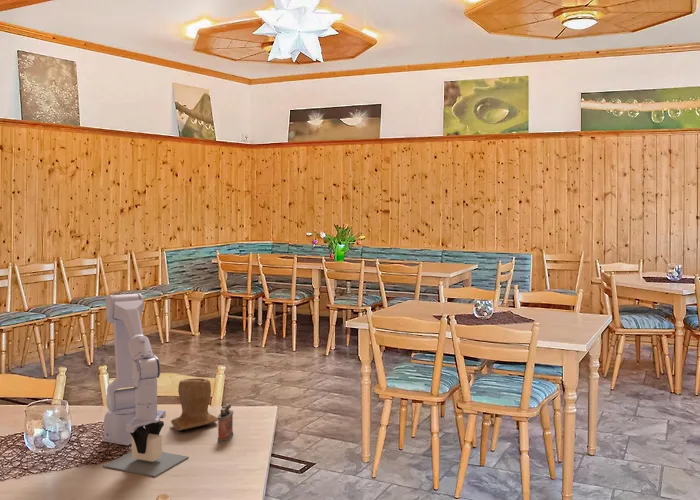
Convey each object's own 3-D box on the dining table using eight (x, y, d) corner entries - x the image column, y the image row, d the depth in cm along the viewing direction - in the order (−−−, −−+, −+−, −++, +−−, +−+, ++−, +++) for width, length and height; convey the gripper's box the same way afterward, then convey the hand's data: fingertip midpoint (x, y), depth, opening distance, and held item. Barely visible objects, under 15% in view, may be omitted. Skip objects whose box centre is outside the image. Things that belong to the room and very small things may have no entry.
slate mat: (103, 467, 193) (103, 465, 193) (139, 449, 207) (139, 447, 207) (155, 477, 187) (155, 475, 187) (188, 458, 200) (188, 456, 200)
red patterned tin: (225, 442, 213) (225, 410, 212) (215, 442, 214) (215, 409, 213) (235, 434, 221) (235, 402, 220) (225, 433, 222) (225, 401, 221)
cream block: (152, 461, 193) (152, 440, 193) (131, 457, 196) (131, 436, 196) (161, 456, 197) (161, 435, 197) (141, 453, 200) (140, 431, 199)
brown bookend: (202, 416, 238) (202, 371, 237) (222, 424, 230) (223, 378, 229) (161, 425, 228) (161, 379, 227) (181, 435, 219) (181, 387, 218)
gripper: (141, 410, 187) (141, 461, 188) (174, 396, 201) (174, 444, 202) (119, 407, 190) (119, 457, 191) (153, 393, 203) (154, 440, 204)
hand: (146, 450), depth 196 cm, fingers closed on cream block, 4 cm apart
